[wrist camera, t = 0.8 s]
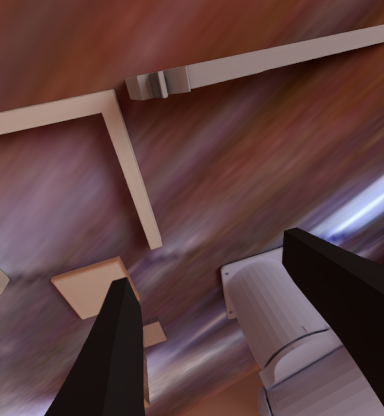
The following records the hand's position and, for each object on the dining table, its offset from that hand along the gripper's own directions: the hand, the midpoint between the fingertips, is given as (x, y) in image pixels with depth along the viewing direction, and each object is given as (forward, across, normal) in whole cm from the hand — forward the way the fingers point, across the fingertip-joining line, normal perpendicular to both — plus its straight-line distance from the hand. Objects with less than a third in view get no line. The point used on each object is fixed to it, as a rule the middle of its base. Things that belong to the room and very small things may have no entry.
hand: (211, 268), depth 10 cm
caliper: (+10, -9, -8) cm, 15 cm away
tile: (+10, +9, +9) cm, 16 cm away
